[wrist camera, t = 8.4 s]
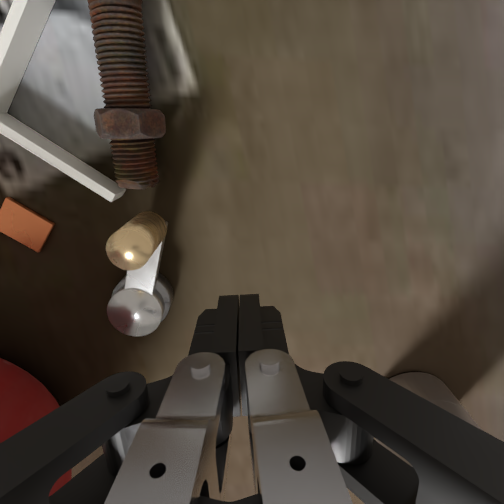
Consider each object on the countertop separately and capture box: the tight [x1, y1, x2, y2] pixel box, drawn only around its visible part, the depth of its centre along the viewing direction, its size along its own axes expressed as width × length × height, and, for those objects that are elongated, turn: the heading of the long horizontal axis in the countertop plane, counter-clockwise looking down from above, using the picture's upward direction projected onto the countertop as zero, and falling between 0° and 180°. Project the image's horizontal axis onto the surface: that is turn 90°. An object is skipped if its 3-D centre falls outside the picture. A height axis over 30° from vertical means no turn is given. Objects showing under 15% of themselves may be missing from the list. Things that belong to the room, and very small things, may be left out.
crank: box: [106, 211, 168, 336], centre depth 24 cm, size 11×4×6 cm, turn 165°
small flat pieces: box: [0, 197, 173, 322], centre depth 28 cm, size 16×5×2 cm, turn 55°
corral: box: [0, 0, 126, 202], centre depth 22 cm, size 11×20×2 cm, turn 145°
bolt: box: [88, 0, 166, 189], centre depth 22 cm, size 6×5×15 cm
